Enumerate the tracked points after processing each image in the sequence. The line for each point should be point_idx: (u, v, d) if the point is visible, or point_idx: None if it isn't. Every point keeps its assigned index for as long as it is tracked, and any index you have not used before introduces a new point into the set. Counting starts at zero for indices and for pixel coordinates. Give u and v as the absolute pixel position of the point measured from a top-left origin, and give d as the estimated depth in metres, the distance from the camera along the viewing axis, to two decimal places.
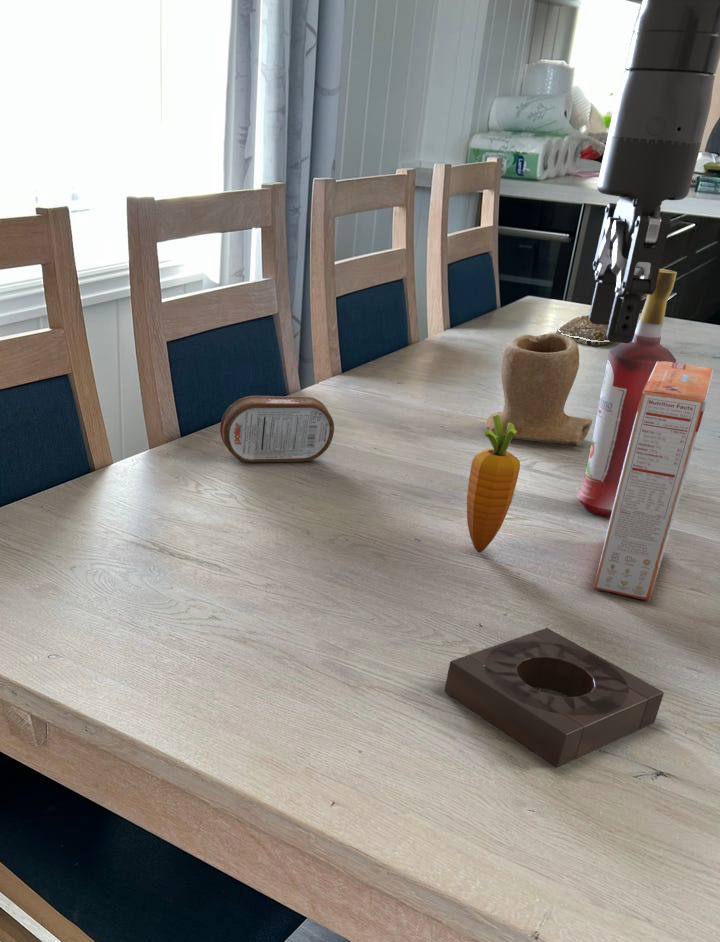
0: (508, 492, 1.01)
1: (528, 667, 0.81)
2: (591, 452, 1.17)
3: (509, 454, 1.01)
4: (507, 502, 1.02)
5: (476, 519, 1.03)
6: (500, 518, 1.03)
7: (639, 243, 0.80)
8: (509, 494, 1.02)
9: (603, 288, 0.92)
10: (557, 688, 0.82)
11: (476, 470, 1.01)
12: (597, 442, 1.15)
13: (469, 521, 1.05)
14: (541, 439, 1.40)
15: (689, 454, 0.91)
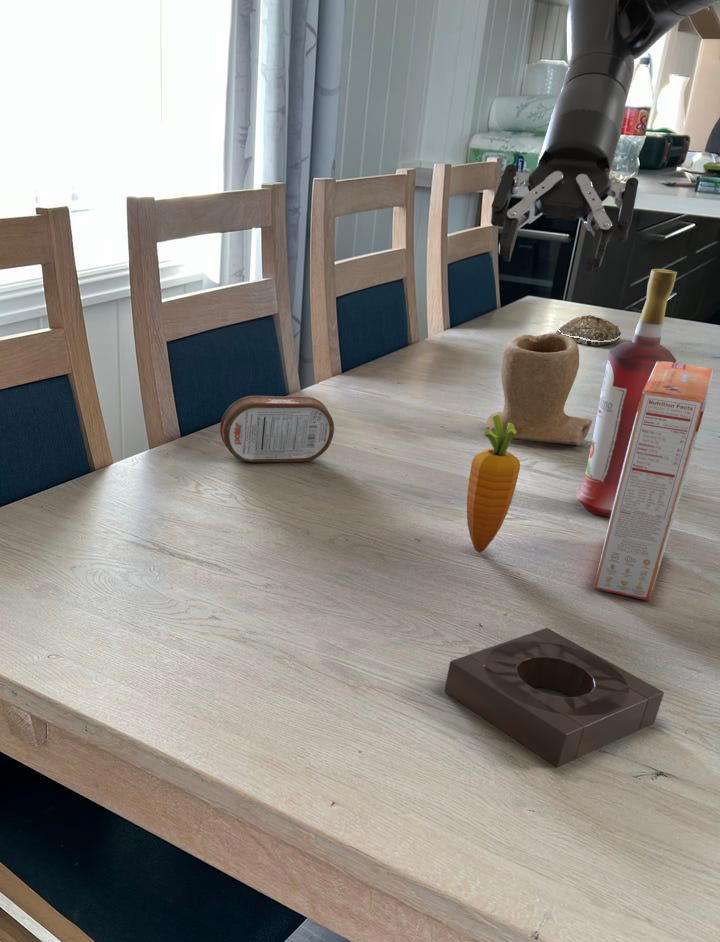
0: (508, 492, 1.01)
1: (528, 667, 0.81)
2: (591, 452, 1.17)
3: (509, 454, 1.01)
4: (507, 502, 1.02)
5: (476, 519, 1.03)
6: (500, 518, 1.03)
7: None
8: (509, 494, 1.02)
9: None
10: (557, 688, 0.82)
11: (476, 470, 1.01)
12: (597, 442, 1.15)
13: (469, 521, 1.05)
14: (541, 439, 1.40)
15: (689, 454, 0.91)
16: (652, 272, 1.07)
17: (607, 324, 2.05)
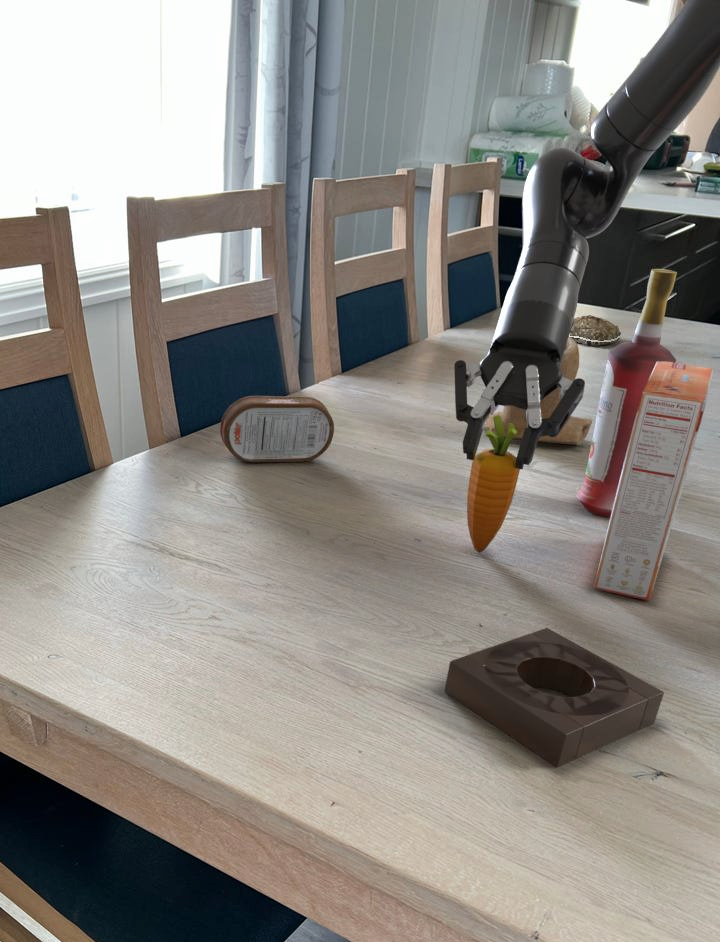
0: (508, 492, 1.01)
1: (528, 667, 0.81)
2: (591, 452, 1.17)
3: (509, 454, 1.01)
4: (507, 502, 1.02)
5: (476, 519, 1.03)
6: (500, 518, 1.03)
7: None
8: (509, 494, 1.02)
9: None
10: (557, 688, 0.82)
11: (477, 470, 1.01)
12: (597, 442, 1.15)
13: (469, 521, 1.05)
14: (541, 439, 1.40)
15: (689, 454, 0.91)
16: (652, 272, 1.07)
17: (607, 324, 2.05)
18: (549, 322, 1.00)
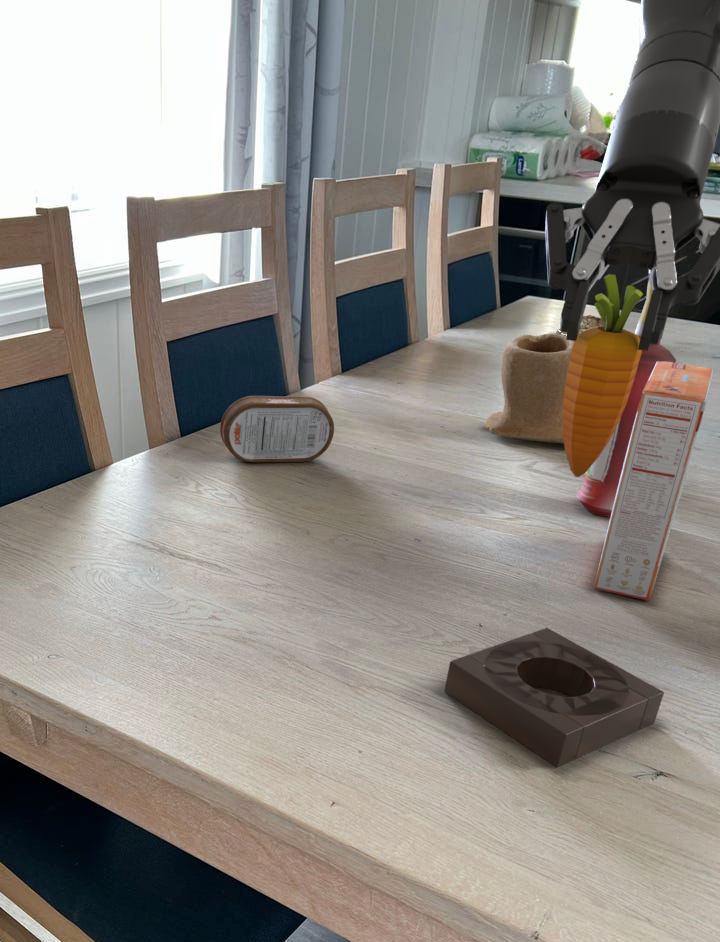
0: (626, 386, 0.71)
1: (528, 667, 0.81)
2: None
3: (627, 331, 0.71)
4: (623, 401, 0.72)
5: (578, 427, 0.74)
6: (612, 425, 0.73)
7: (546, 244, 0.75)
8: (627, 389, 0.72)
9: None
10: (557, 688, 0.82)
11: (581, 354, 0.71)
12: None
13: (566, 431, 0.75)
14: (541, 439, 1.40)
15: (689, 454, 0.91)
16: None
17: None
18: (686, 139, 0.70)
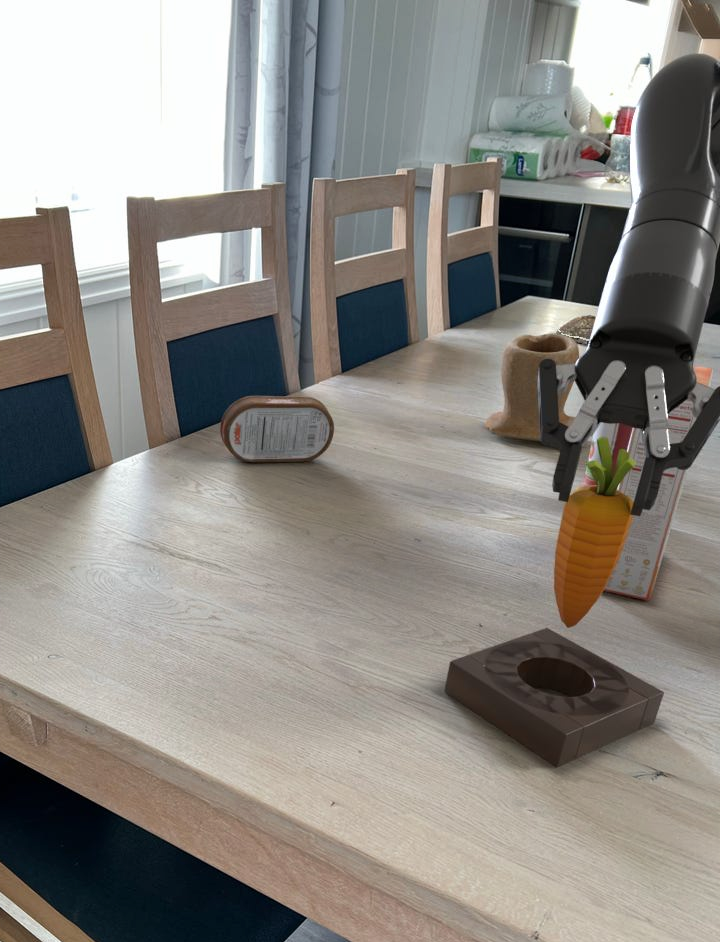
0: (618, 548, 0.71)
1: (528, 667, 0.81)
2: (591, 452, 1.17)
3: (620, 494, 0.71)
4: (615, 561, 0.72)
5: (569, 584, 0.73)
6: (604, 583, 0.73)
7: (538, 398, 0.74)
8: (618, 551, 0.71)
9: None
10: (557, 688, 0.82)
11: (573, 516, 0.71)
12: None
13: (557, 585, 0.74)
14: None
15: None
16: None
17: None
18: (680, 304, 0.69)
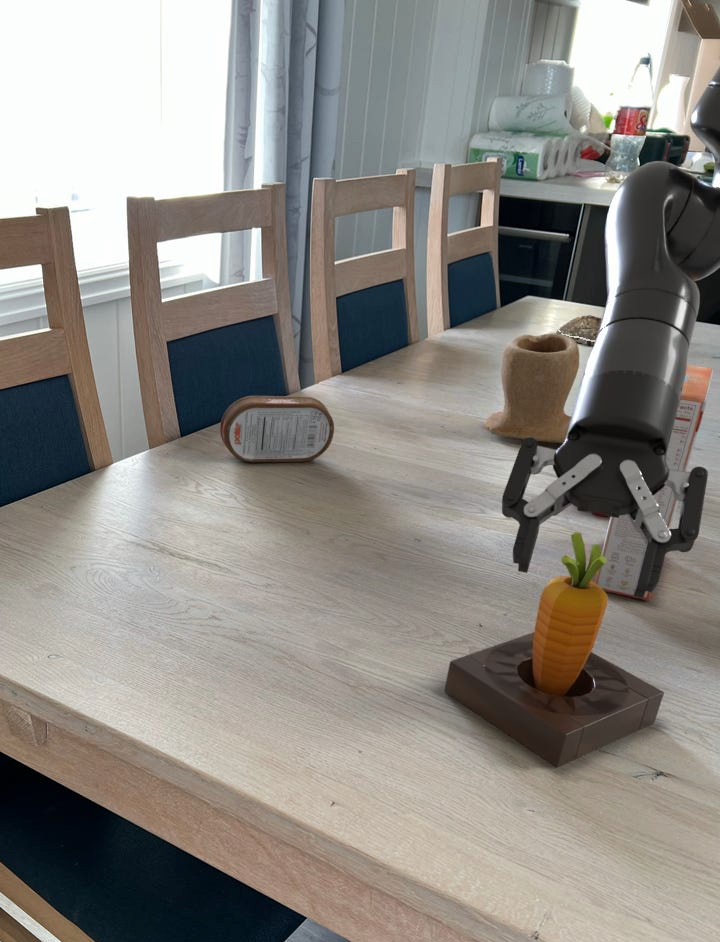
0: (591, 637, 0.75)
1: (528, 667, 0.81)
2: None
3: (593, 586, 0.74)
4: (589, 649, 0.76)
5: (546, 669, 0.77)
6: (579, 669, 0.76)
7: None
8: (592, 639, 0.75)
9: (643, 555, 0.73)
10: None
11: (548, 607, 0.75)
12: None
13: (535, 669, 0.78)
14: (541, 439, 1.40)
15: (689, 454, 0.91)
16: None
17: None
18: (652, 402, 0.73)
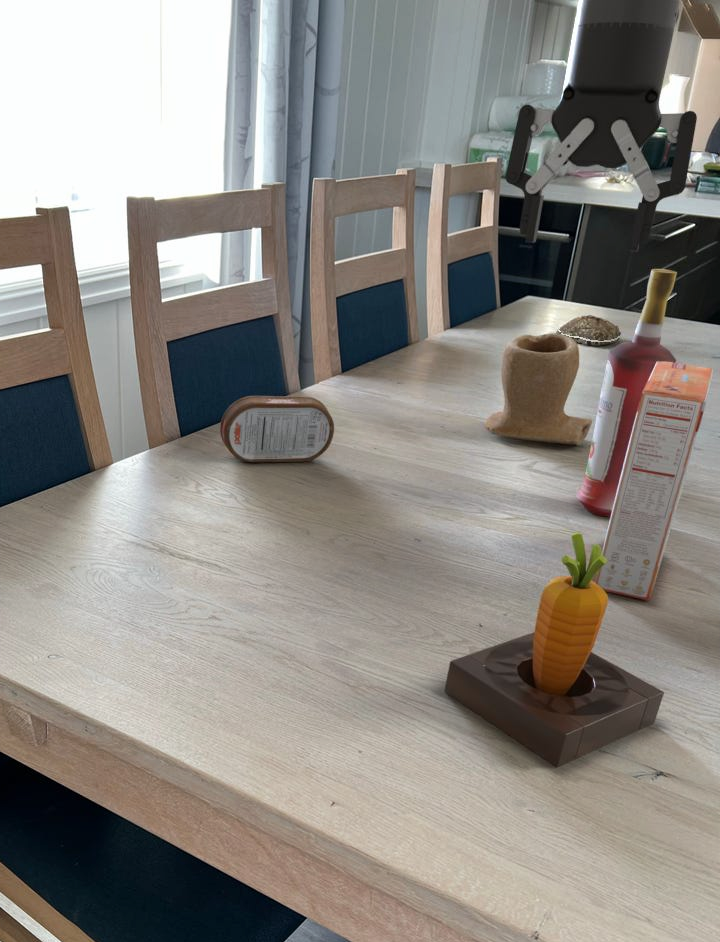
0: (592, 637, 0.75)
1: (528, 667, 0.81)
2: (591, 452, 1.17)
3: (593, 586, 0.74)
4: (589, 649, 0.76)
5: (546, 669, 0.77)
6: (579, 669, 0.76)
7: None
8: (593, 639, 0.75)
9: None
10: None
11: (549, 607, 0.75)
12: (597, 442, 1.15)
13: (535, 669, 0.78)
14: (541, 439, 1.40)
15: (689, 454, 0.91)
16: (652, 272, 1.07)
17: (607, 324, 2.05)
18: (640, 55, 0.74)
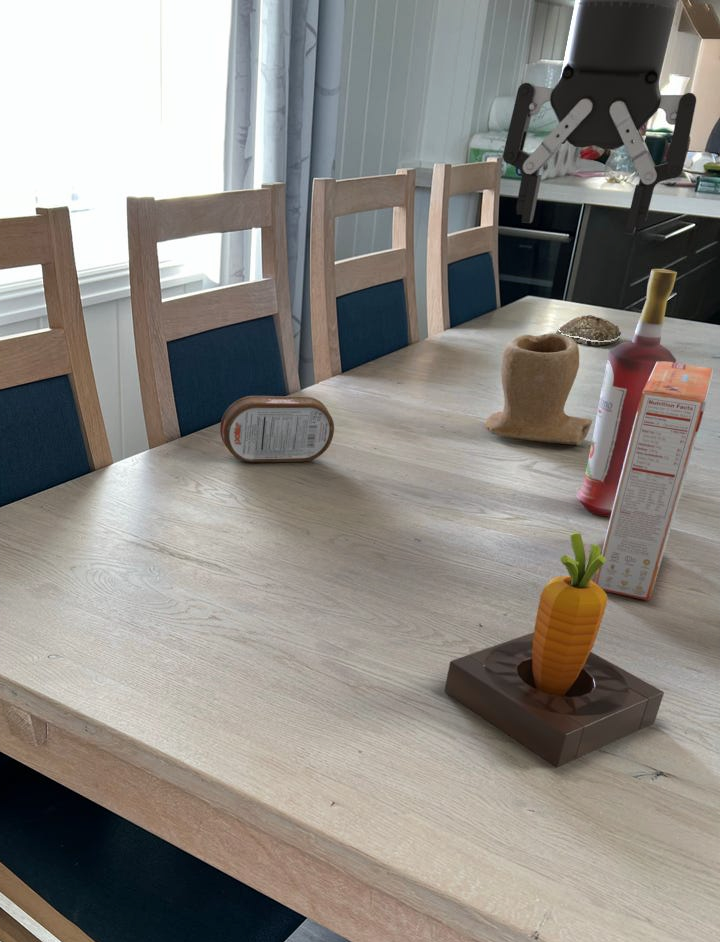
0: (591, 637, 0.75)
1: (528, 667, 0.81)
2: (591, 452, 1.17)
3: (593, 585, 0.74)
4: (589, 648, 0.76)
5: (546, 669, 0.77)
6: (579, 668, 0.76)
7: None
8: (592, 639, 0.75)
9: None
10: None
11: (548, 607, 0.75)
12: (597, 442, 1.15)
13: (535, 669, 0.78)
14: (541, 439, 1.40)
15: (689, 454, 0.91)
16: (652, 272, 1.07)
17: (607, 324, 2.05)
18: (640, 35, 0.73)
